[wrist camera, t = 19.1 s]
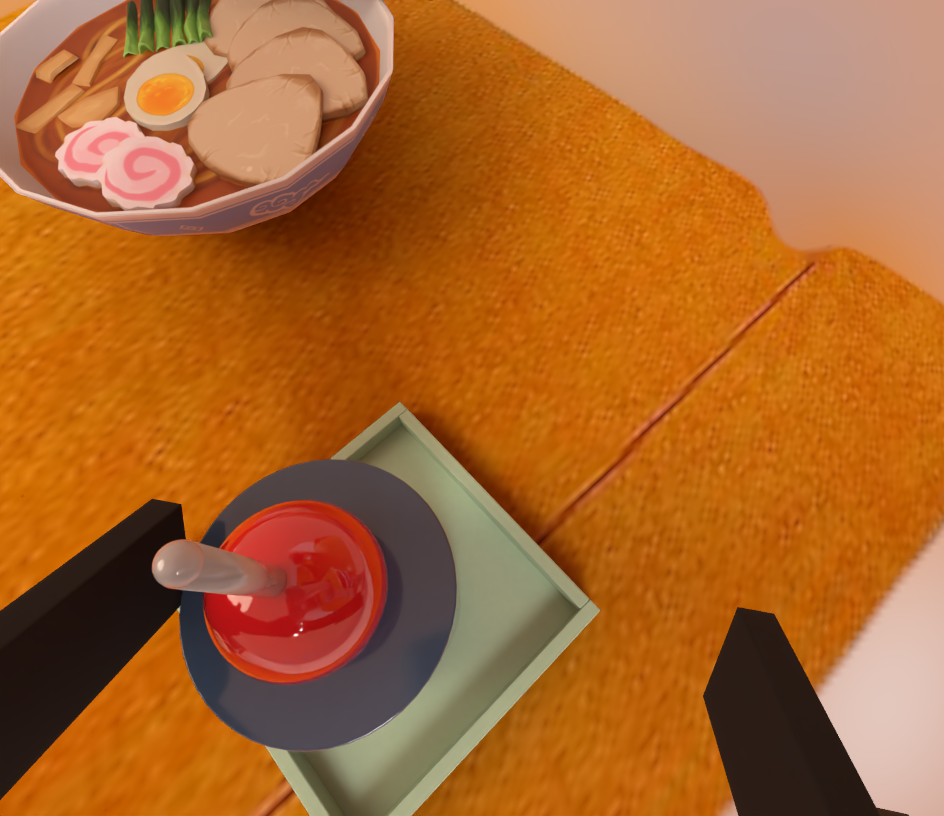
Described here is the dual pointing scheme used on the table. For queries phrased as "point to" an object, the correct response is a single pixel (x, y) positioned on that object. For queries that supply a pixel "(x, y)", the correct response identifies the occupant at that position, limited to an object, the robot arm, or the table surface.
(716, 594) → the table surface
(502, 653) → the serving tray
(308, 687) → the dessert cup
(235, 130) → the ramen bowl
